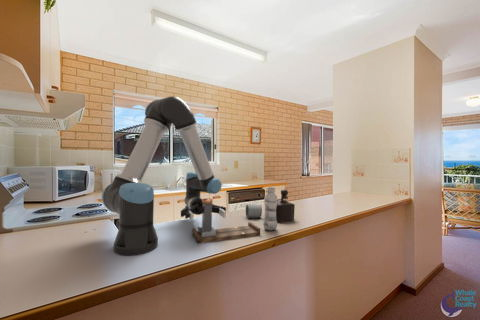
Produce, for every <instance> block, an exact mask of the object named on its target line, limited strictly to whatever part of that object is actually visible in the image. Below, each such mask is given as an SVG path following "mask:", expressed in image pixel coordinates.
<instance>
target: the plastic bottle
mask: <svg viewBox="0 0 480 320" xmlns="http://www.w3.org/2000/svg"><path fill="white" fill-rule="evenodd" d="M275 192H276V187H267V188H266V194H265V196H264V198H263V202H264V203H263V204H264V216H263V217H264V218H263V223H262V224H263V228H264V230H267V231H275V230H276V229H277V227H278V222H277V220H276V207H277V201H278V199H279V198H278V196H277V194H276V193H275Z"/></svg>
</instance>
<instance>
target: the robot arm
mask: <svg viewBox="0 0 480 320" xmlns="http://www.w3.org/2000/svg"><path fill="white" fill-rule="evenodd" d="M144 115H145V117H144V119H143V122H144V125H145V126H144V127H143V130H142V131H141V134H140V136H139V137H138V140H137V141H136V144H135V145H134V147H133V149H132V151H131V154H130V155H129V157H128V159H127V160H126V163H125V166H124V168H123V169H122V172H121V173H120V174H117V175H115V177H114V178H113V180H112V183H109V184H108V185H107V186H106V187H105V188H104V189H103V191H102V194H101V200H102V201H101V202H102V204H103V206H105V208H106V209H108V210H109V211H110V212H113V213H116V214H118V216H119V218H118V221H119V225H118V231H117V234H116V236H115V240H114V242H113V252H114V253H115V254H116V255H120V256H121V255H122V256H136V255H141V254H145V253H149V252H150V251H152V250H155V249H156V248H157V247H158V245H159V239H158V238H159V237H158V235H157V232H156V228H155V226H154V211H155V210H154V209H155V208H154V206H155V204H154V201H155V192H154V188H153V186H152V185H151V184H148V183H144V182H143V180H144V176H145V175H146V172H147V170H148V168H149V167H150V165H151V162H152V159H153V158H154V156H155V153H156V151H157V149H158V146H159V145H160V143H161V141H162V138H163V136H164V134H166V133H167V134H168V133H169V131H170V129H171V127H172V125H173V127H174V129H175V131H178V132H179V135H180V138H181V139H182V142H183V144H184V147H185V150H186V152H187V154H188V157H189V159H190V162H191V165H192V166H193V169H194V171H195V172H194V171H190V172H187V173H186V179H185V188H186V189H185V198H184V204H185V207H184V208H182V209H181V210H180V217H181V218H184V219H189V220H190V221H191V222H194V215H197V216H200V215H202V208H203V204H202V199H203V198H202V197H201V192H202V193H205V194H206V193H207V194H209V195H211V194H214V195H215V194H216V195H217V194H218V193H219V192H220V191H221V189H222V182H221V180H220V179H219V178H217V177H215V175H214V172H213V170H212V166H211V163H210V162H209V160H208V159H209V158H208V157H207V153H206V151H205V147H204V145H203V143H202V141H201V138H200V135H199V133H198V129H197V126H196V125H197V121H196V118H195V116H194V112H193V111H192V109H191V108H190V106H189V105H188V104H187V103H186V102H185V101H184V100H183V99H182V98H180V97H178V96H172V95H171V96H167V97H164V98H160V99H155V100H152V101H151V102H150V103H148V104H147V105H146V107H145V110H144ZM212 214H218V215H219V216H221V217H222V218H223V219H226V217H227V216H226V214H227V207H226V206H220V205H216V204H213V203H212Z"/></svg>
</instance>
